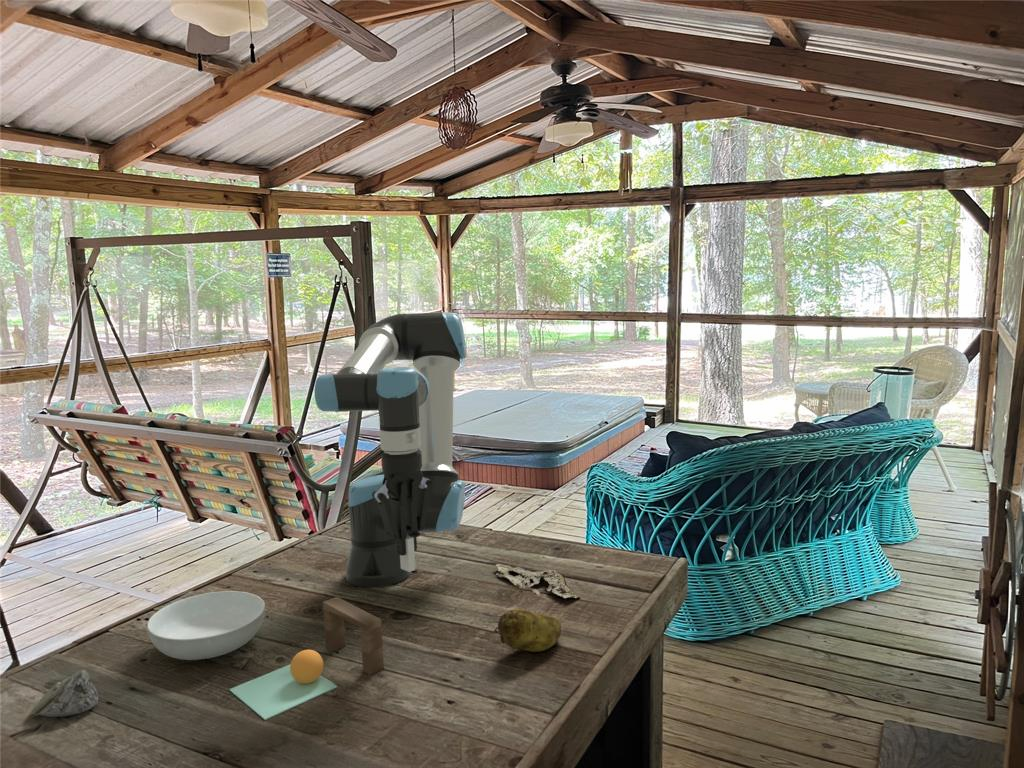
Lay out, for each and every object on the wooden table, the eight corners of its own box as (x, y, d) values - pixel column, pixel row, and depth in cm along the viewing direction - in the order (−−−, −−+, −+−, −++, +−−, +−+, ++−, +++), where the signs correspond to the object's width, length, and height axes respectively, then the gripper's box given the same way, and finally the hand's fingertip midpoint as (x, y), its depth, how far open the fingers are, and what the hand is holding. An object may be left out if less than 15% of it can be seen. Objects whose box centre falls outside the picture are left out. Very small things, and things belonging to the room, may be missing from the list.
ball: (313, 644, 132) (308, 675, 131) (287, 647, 127) (281, 679, 127) (332, 653, 128) (326, 685, 128) (305, 656, 124) (299, 690, 123)
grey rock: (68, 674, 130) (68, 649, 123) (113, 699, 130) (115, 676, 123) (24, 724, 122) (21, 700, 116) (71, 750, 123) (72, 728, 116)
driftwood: (595, 578, 162) (585, 563, 160) (573, 617, 156) (563, 602, 154) (508, 564, 179) (499, 550, 177) (486, 599, 173) (476, 585, 171)
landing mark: (229, 690, 126) (229, 689, 126) (299, 661, 135) (298, 660, 135) (265, 720, 117) (265, 719, 117) (337, 687, 126) (337, 686, 126)
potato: (572, 653, 135) (571, 611, 134) (505, 666, 131) (503, 623, 130) (556, 633, 143) (555, 593, 142) (492, 645, 139) (490, 604, 138)
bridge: (369, 675, 129) (366, 625, 128) (326, 648, 140) (322, 601, 138) (383, 668, 131) (380, 619, 130) (339, 642, 142) (336, 596, 141)
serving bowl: (152, 686, 128) (148, 649, 127) (149, 638, 147) (145, 605, 146) (276, 655, 138) (273, 620, 137) (258, 613, 156) (255, 582, 155)
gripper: (384, 459, 133) (391, 584, 136) (440, 446, 142) (446, 564, 145) (360, 453, 138) (368, 574, 141) (416, 441, 147) (422, 554, 150)
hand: (408, 569), depth 143 cm, fingers closed
